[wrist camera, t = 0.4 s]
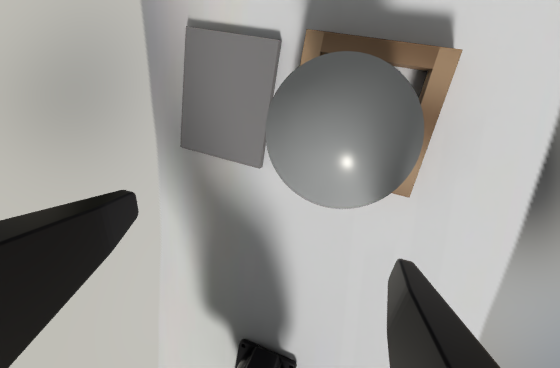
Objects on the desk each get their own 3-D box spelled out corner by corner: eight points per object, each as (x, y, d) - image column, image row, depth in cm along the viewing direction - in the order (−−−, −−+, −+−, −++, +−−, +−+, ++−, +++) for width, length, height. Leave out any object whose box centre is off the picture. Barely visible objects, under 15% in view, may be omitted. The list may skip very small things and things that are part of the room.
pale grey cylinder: (385, 154, 21) (394, 227, 9) (320, 139, 22) (256, 187, 11) (407, 84, 19) (451, 65, 8) (335, 72, 21) (278, 40, 9)
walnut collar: (406, 189, 21) (409, 197, 19) (289, 159, 24) (282, 164, 22) (454, 54, 18) (462, 49, 16) (313, 35, 20) (306, 29, 19)
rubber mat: (262, 166, 25) (259, 168, 24) (184, 145, 27) (180, 147, 26) (281, 41, 21) (279, 39, 21) (190, 27, 23) (186, 26, 23)
